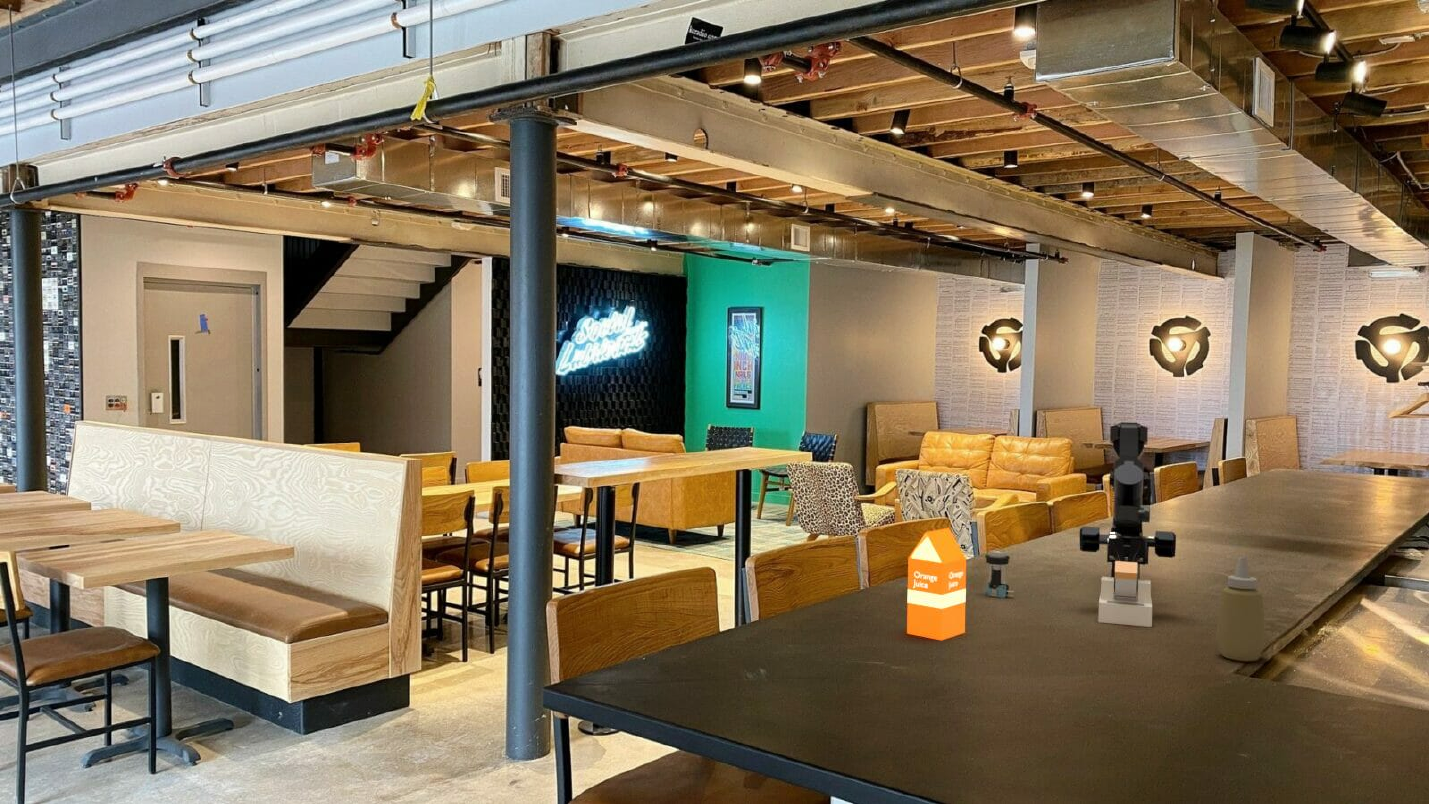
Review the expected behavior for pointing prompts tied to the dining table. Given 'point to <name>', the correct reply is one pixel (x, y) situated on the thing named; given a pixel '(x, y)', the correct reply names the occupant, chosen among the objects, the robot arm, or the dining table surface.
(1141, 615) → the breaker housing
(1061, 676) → the dining table surface
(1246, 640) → the squeeze bottle
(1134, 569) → the lever
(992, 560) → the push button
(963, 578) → the orange juice
